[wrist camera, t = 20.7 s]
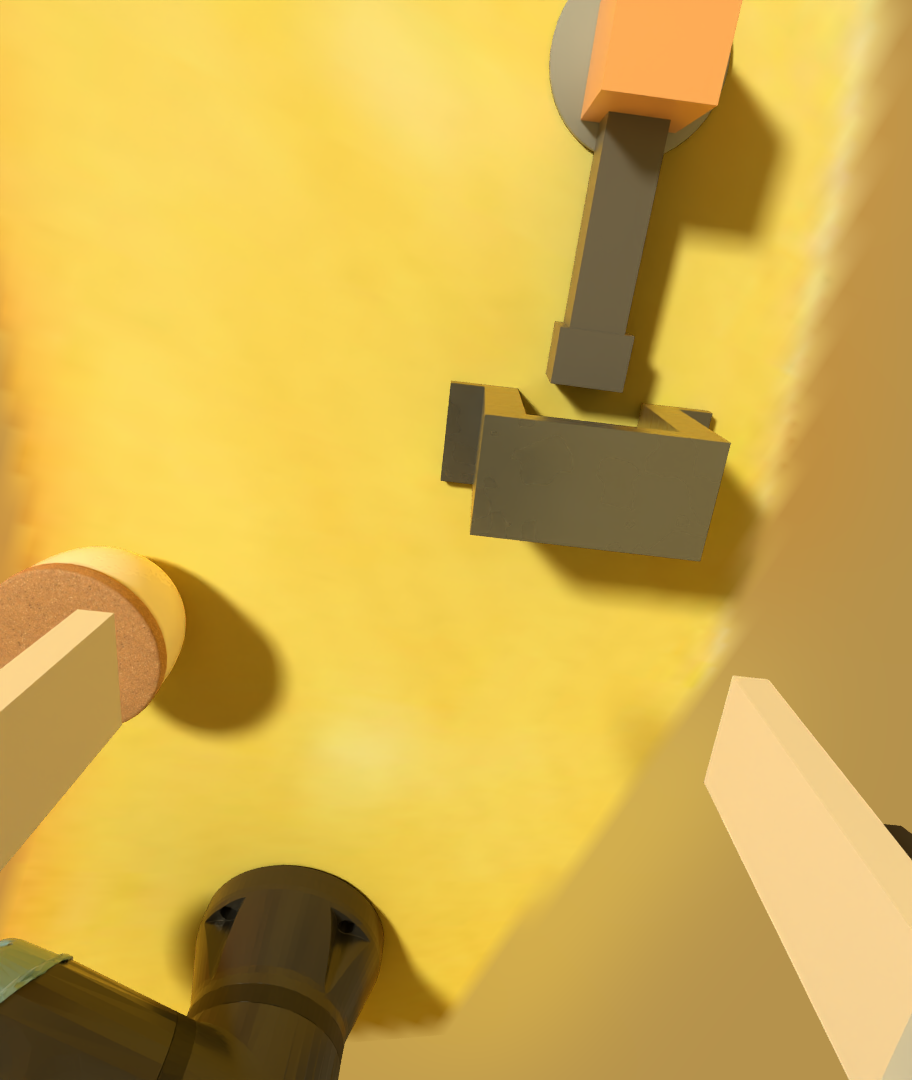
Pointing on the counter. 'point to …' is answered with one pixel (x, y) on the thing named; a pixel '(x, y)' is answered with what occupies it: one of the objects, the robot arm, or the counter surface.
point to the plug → (632, 164)
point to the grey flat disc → (586, 72)
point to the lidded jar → (107, 586)
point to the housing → (584, 474)
